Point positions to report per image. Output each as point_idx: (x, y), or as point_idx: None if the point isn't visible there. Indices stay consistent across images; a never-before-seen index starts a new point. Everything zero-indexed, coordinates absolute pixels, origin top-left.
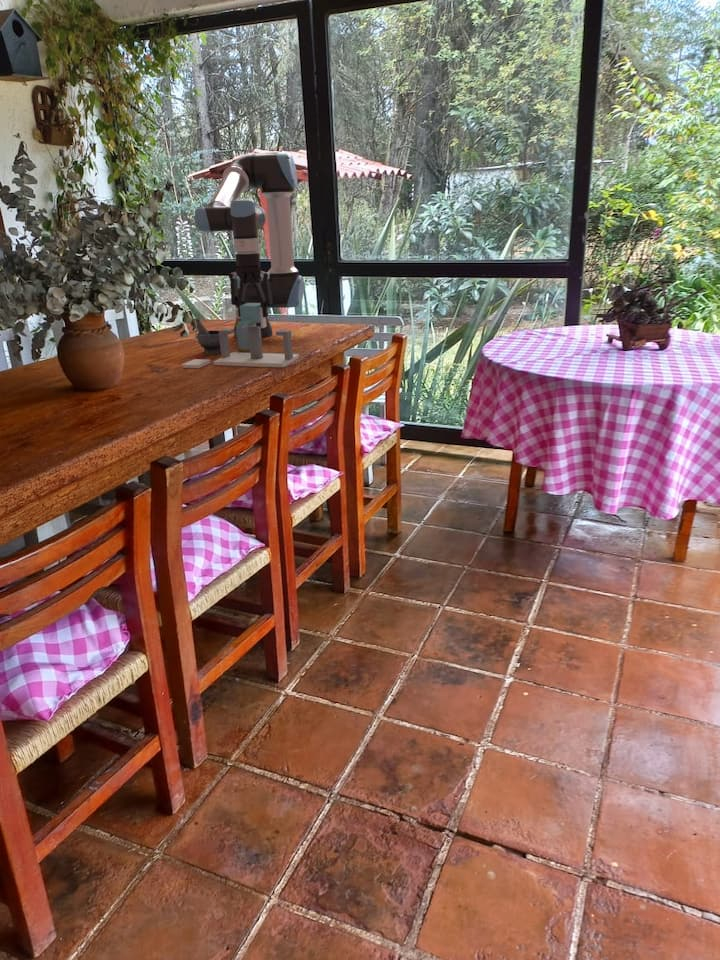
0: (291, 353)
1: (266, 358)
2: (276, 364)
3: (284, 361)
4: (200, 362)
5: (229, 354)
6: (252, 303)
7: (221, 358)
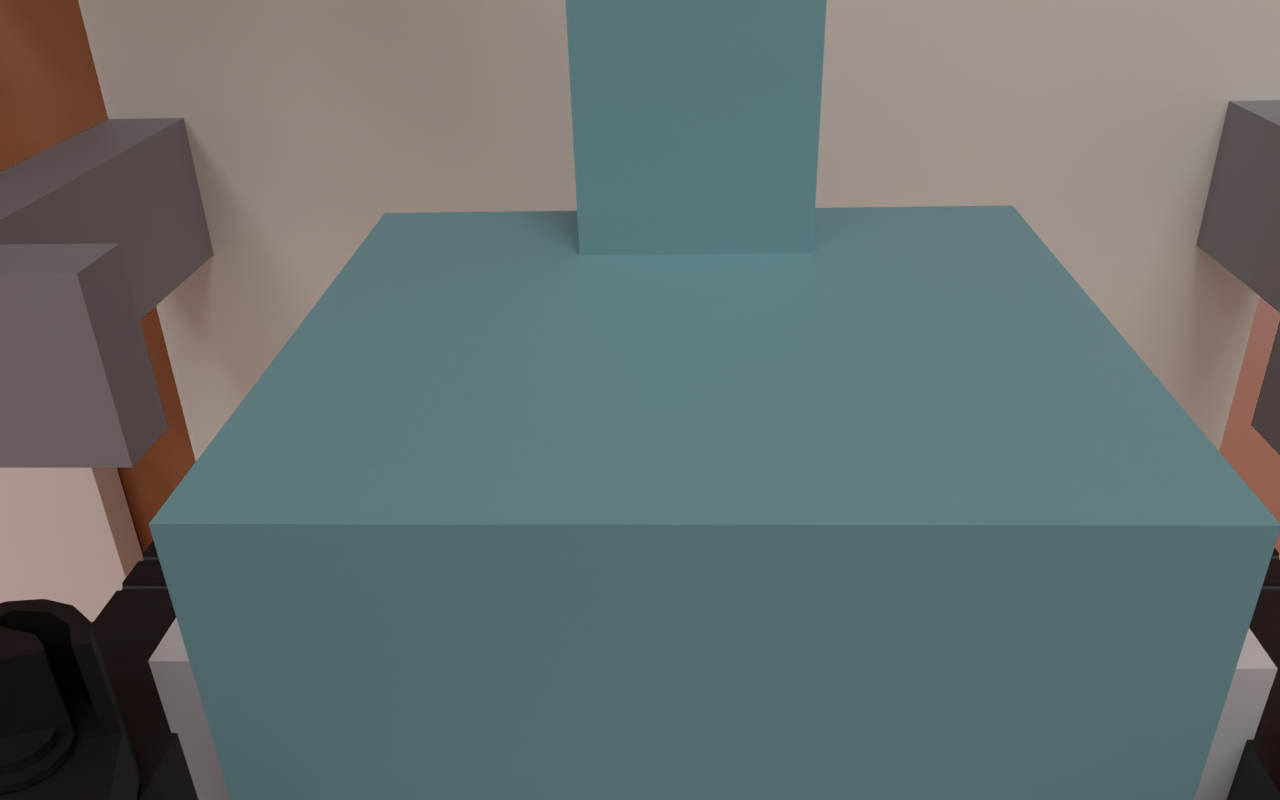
0: None
1: (869, 204)
2: None
3: (1211, 346)
4: (52, 507)
5: (175, 133)
6: (570, 681)
7: (180, 303)
